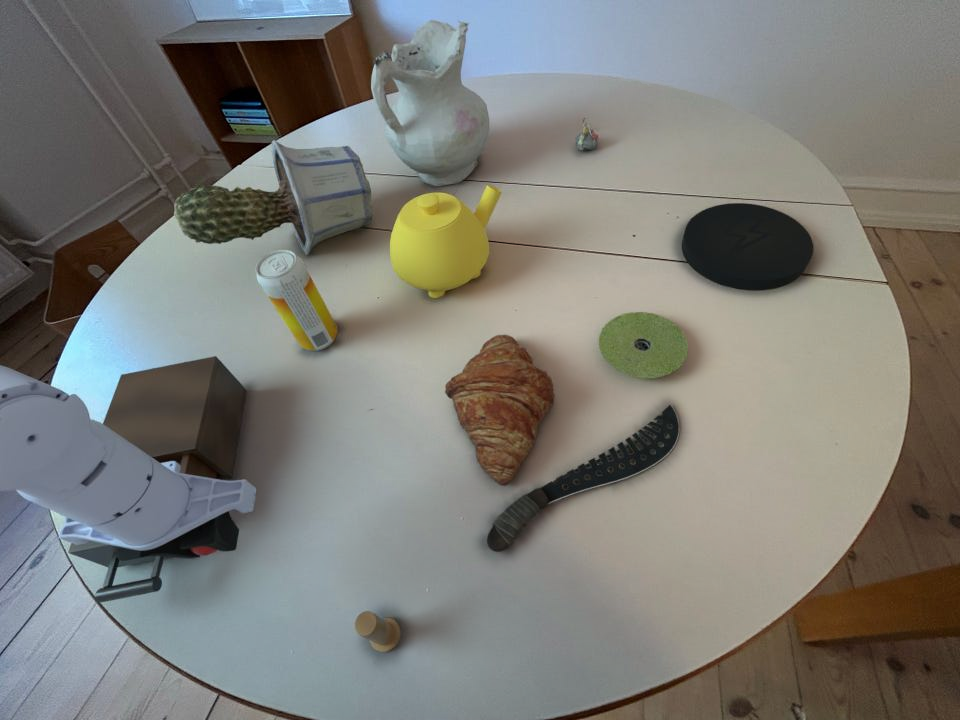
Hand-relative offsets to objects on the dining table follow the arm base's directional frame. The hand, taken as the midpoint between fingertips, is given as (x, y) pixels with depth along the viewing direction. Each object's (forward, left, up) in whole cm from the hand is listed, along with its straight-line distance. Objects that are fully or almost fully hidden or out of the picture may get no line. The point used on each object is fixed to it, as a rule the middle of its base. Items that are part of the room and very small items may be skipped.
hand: (216, 543), depth 45 cm
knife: (+28, -25, -11) cm, 39 cm away
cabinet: (+5, +22, -10) cm, 25 cm away
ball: (0, 0, 0) cm, 0 cm away
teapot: (+50, +11, -11) cm, 52 cm away
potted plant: (+41, +40, -11) cm, 58 cm away
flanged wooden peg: (+3, -15, -10) cm, 19 cm away
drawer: (-3, +14, -10) cm, 17 cm away
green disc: (+48, -22, -11) cm, 54 cm away
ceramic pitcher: (+71, +30, -11) cm, 78 cm away
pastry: (+31, -11, -11) cm, 35 cm away
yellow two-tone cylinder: (+27, +20, -11) cm, 35 cm away
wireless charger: (+74, -27, -11) cm, 79 cm away
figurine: (+90, +8, -11) cm, 91 cm away
